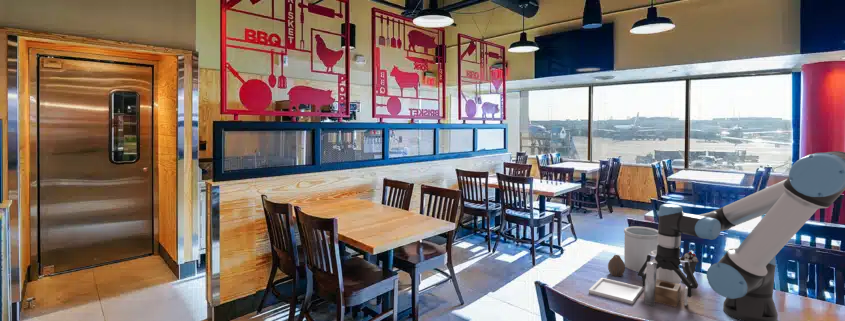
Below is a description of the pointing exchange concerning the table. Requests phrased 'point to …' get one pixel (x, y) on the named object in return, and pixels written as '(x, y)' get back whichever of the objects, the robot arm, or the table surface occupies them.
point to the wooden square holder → (667, 292)
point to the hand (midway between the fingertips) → (665, 299)
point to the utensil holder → (639, 246)
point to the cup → (665, 272)
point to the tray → (616, 290)
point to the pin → (650, 284)
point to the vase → (616, 266)
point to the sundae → (692, 260)
